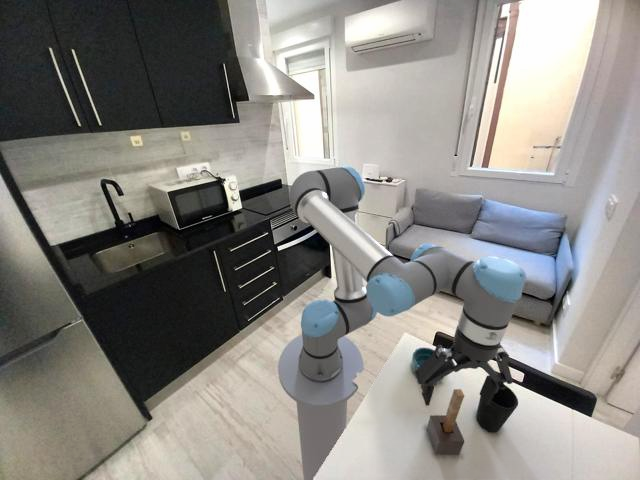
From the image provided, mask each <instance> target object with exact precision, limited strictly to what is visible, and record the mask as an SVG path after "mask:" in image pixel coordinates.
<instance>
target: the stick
mask: <svg viewBox="0 0 640 480" xmlns="http://www.w3.org/2000/svg"><path fill="white" fill-rule="evenodd" d="M464 398H465V394H464V392H463V390H462V389H461V388H454V389H453V392H452V395H451V398H450V401H449V404H448V408H447V410H446V414H445V415H446V416H445V419H444V423H443V426H442V430H443V432H444V433H451V432H452V429H453V427H454V424H455V421H456V422H457V418H458V415H459V412H460V409H461V407H462V405H463V401H464Z"/></svg>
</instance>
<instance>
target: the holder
mask: <svg viewBox="0 0 640 480" xmlns="http://www.w3.org/2000/svg"><path fill="white" fill-rule="evenodd" d="M445 416H446V414H445V415H444V414H443V415H442V414H435V415H434V414H433V415H429V418H428V422H427V426H426V432H427V434H428V437H429V440H430V443H431V446H432V449H433V452H434V455H437V456H438V455H439V456H443V455H444V456H446V455H447V456H449V455H452V456H457V455H460V454H461V451H462V449H463V447H464V444H465V439H464V436H463V434H462V432H461V430H460V426H459V425H458V423H457V420H456V421H455V424H454V427H453V429H452V432H451V433H444V432H443V430H442V426H443V423H444V419H445Z"/></svg>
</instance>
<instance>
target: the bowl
mask: <svg viewBox="0 0 640 480" xmlns="http://www.w3.org/2000/svg"><path fill="white" fill-rule="evenodd" d="M434 351H435V349H432V348H430V347H419V348H416V349H415V350H413V352H412V356H411V362H410V369H411V371H412V373H413V374H414V375H415V371H416V370H417V369H418V368H419V367H420V366H421V365H422V364H423V363H424V362H425V361H426V360H427V359H428V358H429V357H430V356H431V355H432V354H433V353H434ZM443 380H444V378H442V379H440V380H439V381H437V382H436V383H434V384H433V385H435V384H439V383H441V382H442V381H443Z"/></svg>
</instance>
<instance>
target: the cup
mask: <svg viewBox="0 0 640 480" xmlns="http://www.w3.org/2000/svg"><path fill="white" fill-rule="evenodd" d="M504 385H505V386H506V388H505V389H500V388H499V390H498V392H497V393H495V394H494V396H493V398H492V400H491V403H490V405H485V403H484V401H483V399H482V397H481V396H480V395H479V400H478V406H477V411H476V415H475V420H476V422H477V424H478V425H479V426H480V428H481V429H483V430H484V431H486V432H487V433H490V434H497V433H498V432H499V431H500V430H501V429H502V427H503V426H504V425H505V423H506V422H507V421H508V419H509V418H510V417H511V416H512V414H513V413H514V411H515V410H516V409H517V407H518V406H519V399H518V397H517V395H516V393H515V392H514V391H513V390H512V389H511V388H510V387H509V386H507V385H506V384H504Z"/></svg>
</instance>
